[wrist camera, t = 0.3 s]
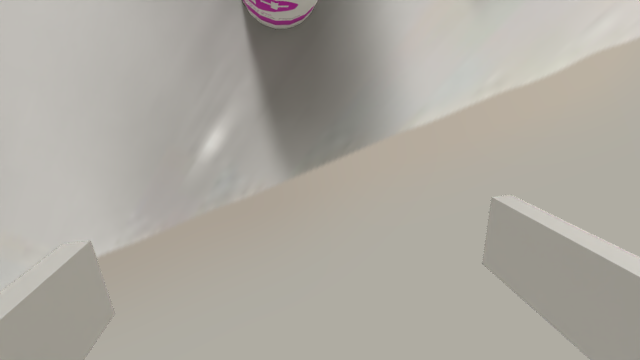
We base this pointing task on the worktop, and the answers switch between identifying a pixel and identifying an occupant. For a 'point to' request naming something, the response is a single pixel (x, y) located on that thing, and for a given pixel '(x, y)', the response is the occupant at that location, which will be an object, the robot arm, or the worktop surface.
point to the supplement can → (280, 12)
